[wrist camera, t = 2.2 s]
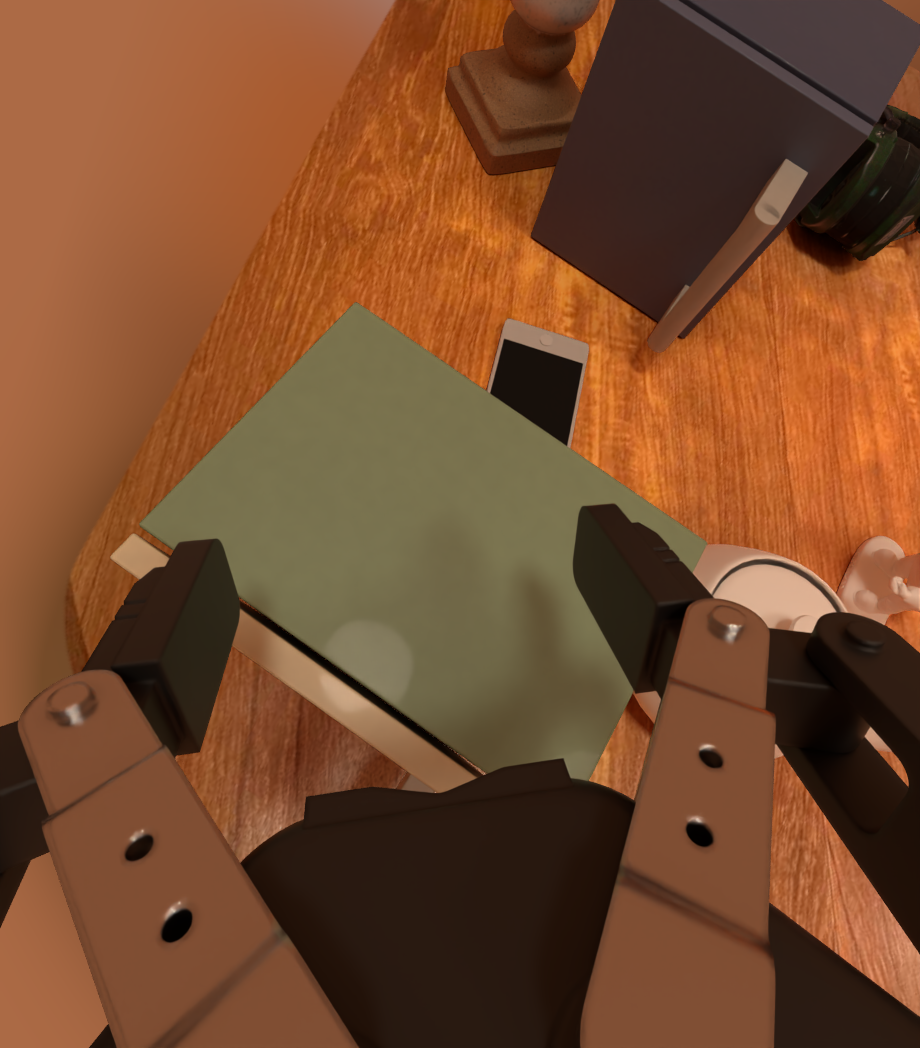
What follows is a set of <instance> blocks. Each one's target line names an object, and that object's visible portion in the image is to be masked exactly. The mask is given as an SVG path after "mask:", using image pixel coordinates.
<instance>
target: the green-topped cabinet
mask: <svg viewBox="0 0 920 1048" xmlns="http://www.w3.org/2000/svg"><path fill="white" fill-rule="evenodd" d="M611 503H614V504H616V505H617V506H618V507H619V508H620V509H621V510H622V512H623V513H624V514H625V515H626V516H627V518H628V519H629V520H630V521H631V522H632V523H634V522H639V523H641V524H643V525H645V526H646V527H648V528H650V529H651V530H653V531H655V532H656V533H658V534H659V535H660V537H661V538H662V539H663V540H664V541H665V542H666V543H667V544H668V546H669V547H670V550H673V551H674V552H675V554H676V555H677V556H678V557H679V558H680V559H679V560H680V561H682V562H683V563H684V564H685V565H686V566H687V567H688V568H689V570H690V571H691V572H692V573H693V571H694V569H695V567H696V565H697V563H698V561H699V559H700V557H701V555H702V553H703V551H704V549H705V547H706V545H707V542H706V541H705V540H703V539H702V538H700V537H699V536H697V535H696V534H694V533H693V532H692V531H690V530H689V529H687V528H686V527H684V526H683V525H681V524H680V523H678V522H677V521H675V520H674V519H673V518H671V517H670V516H668V515H667V514H665V513H664V512H662V511H661V510H659V509H658V508H656V507H655V506H654V505H652V504H651V503H649V502H648V501H646V500H645V499H643V498H642V497H640V496H639V495H637V494H636V493H635V492H633V491H632V490H630V489H629V488H627V487H626V486H624V485H623V484H621V483H620V482H619V481H617V480H616V479H614V478H613V477H611V476H610V475H608V474H607V473H605V472H604V471H602V470H601V469H600V468H598V467H597V466H595V465H594V464H592V463H591V462H589V461H588V460H586V459H585V458H583V457H582V456H581V455H579V454H578V453H576V452H575V451H573V450H572V449H570V448H569V447H567V446H566V445H564V444H563V443H562V442H560V441H559V440H557V439H556V438H554V437H553V436H551V435H550V434H548V433H547V432H545V431H544V430H543V429H541V428H540V427H538V426H537V425H535V424H534V423H532V422H531V421H529V420H528V419H527V418H525V417H524V416H522V415H521V414H519V413H518V412H516V411H515V410H513V409H512V408H510V407H509V406H508V405H506V404H505V403H503V402H502V401H500V400H499V399H497V398H496V397H494V396H493V395H491V394H490V393H489V392H487V391H486V390H484V389H483V388H481V387H480V386H478V385H477V384H475V383H474V382H472V381H471V380H470V379H468V378H467V377H465V376H464V375H462V374H461V373H459V372H458V371H456V370H455V369H454V368H452V367H451V366H449V365H448V364H446V363H445V362H443V361H442V360H440V359H439V358H437V357H436V356H435V355H433V354H432V353H430V352H429V351H427V350H426V349H424V348H423V347H421V346H420V345H418V344H417V343H416V342H414V341H413V340H411V339H410V338H408V337H407V336H405V335H404V334H402V333H401V332H399V331H398V330H397V329H395V328H394V327H392V326H391V325H389V324H388V323H386V322H385V321H383V320H382V319H380V318H379V317H378V316H376V315H375V314H373V313H372V312H370V311H369V310H367V309H366V308H364V307H363V306H362V305H360V304H359V303H357V302H355V303H354V304H353V305H352V306H351V307H350V308H349V309H348V310H347V311H346V312H345V313H344V314H343V315H342V316H341V317H340V318H339V319H338V320H337V321H336V322H335V323H334V324H333V325H332V326H331V327H330V328H329V329H328V330H327V331H326V333H325V334H324V335H323V336H322V337H321V338H320V339H319V340H318V341H317V342H316V343H315V344H314V345H313V346H312V347H311V348H310V349H309V350H308V351H307V352H306V353H305V354H304V355H303V356H302V357H301V358H300V359H299V360H298V361H297V362H296V363H295V364H294V365H293V366H292V367H291V368H290V369H289V370H288V371H287V372H286V373H285V375H284V376H283V377H282V378H281V379H280V380H279V381H278V382H277V383H276V384H275V385H274V386H273V387H272V388H271V389H270V390H269V391H268V392H267V393H266V394H265V395H264V396H263V397H262V398H261V399H260V400H259V401H258V402H257V403H256V404H255V405H254V406H253V407H252V408H251V409H250V410H249V411H248V412H247V413H246V414H245V416H244V417H243V418H242V419H241V420H240V421H239V422H238V423H237V424H236V425H235V426H234V427H233V428H232V429H231V430H230V431H229V432H228V433H227V434H226V435H225V436H224V437H223V438H222V439H221V440H220V441H219V442H218V443H217V444H216V445H215V446H214V447H213V448H212V449H211V450H210V451H209V452H208V453H207V454H206V455H205V457H204V458H203V459H202V460H201V461H200V462H199V463H198V464H197V465H196V466H195V467H194V468H193V469H192V470H191V471H190V472H189V473H188V474H187V475H186V476H185V477H184V478H183V479H182V480H181V481H180V482H179V483H178V484H177V485H176V486H175V487H174V488H173V489H172V490H171V491H170V492H169V493H168V494H167V495H166V496H165V498H164V499H163V500H162V501H161V502H160V503H159V504H158V505H157V506H156V507H155V508H154V509H153V510H152V511H151V512H150V513H149V514H148V515H147V516H146V517H145V518H144V519H143V520H142V521H141V522H140V524H139V525H140V527H141V528H143V529H144V530H146V531H147V532H148V533H150V534H151V535H153V536H154V537H155V538H157V539H158V540H160V541H161V542H163V543H164V544H165V545H167V546H168V547H170V548H171V549H172V550H174V549H175V547H176V545H177V544H178V543H179V542H182V541H193V540H204V539H215V538H216V539H219V540H220V541H221V543H222V545H223V547H224V550H225V554H226V557H227V560H228V563H229V567H230V570H231V573H232V576H233V580H234V583H235V586H236V590H237V593H238V597H240V598H241V599H243V600H244V601H245V602H247V603H248V604H250V605H251V606H252V607H254V608H255V609H257V610H258V611H259V612H261V613H262V614H264V615H265V616H266V617H268V618H269V619H271V620H272V621H273V622H275V623H276V624H278V625H279V626H280V627H282V628H283V629H285V630H286V631H287V632H289V633H290V634H292V635H293V636H295V637H296V638H297V639H299V640H300V641H302V642H303V643H304V644H306V645H307V646H309V647H310V648H311V649H313V650H314V651H316V652H317V653H318V654H320V655H321V656H323V657H324V658H325V659H327V660H328V661H330V662H331V663H332V664H334V665H335V666H337V667H338V668H339V669H341V670H342V671H344V672H345V673H346V674H348V675H349V676H351V677H352V678H353V679H355V680H356V681H358V682H359V683H361V684H362V685H363V686H365V687H366V688H368V689H369V690H370V691H372V692H373V693H375V694H376V695H377V696H379V697H380V698H382V699H383V700H384V701H386V702H387V703H389V704H390V705H391V706H393V707H394V708H396V709H397V710H398V711H400V712H401V713H403V714H404V715H405V716H407V717H408V718H410V719H411V720H412V721H414V722H415V723H417V724H418V725H419V726H421V727H422V728H424V729H425V730H426V731H428V732H429V733H431V734H432V735H434V736H435V737H436V738H438V739H439V740H441V741H442V742H443V743H445V744H446V745H448V746H449V747H450V748H452V749H453V750H455V751H456V752H457V753H459V754H460V755H462V756H463V757H464V758H466V759H467V760H469V761H470V762H471V763H473V764H474V765H476V766H477V767H478V768H480V769H481V770H483V771H484V772H485V773H487V774H488V773H490V772H493V771H495V770H497V769H500V768H502V767H506V766H513V765H520V764H526V763H533V762H540V761H546V760H553V759H559V758H564V761H565V764H566V767H567V769H568V772H569V775H570V778H575V779H581V780H586V781H589V779H590V777H591V775H592V773H593V771H594V769H595V767H596V765H597V763H598V761H599V759H600V757H601V755H602V753H603V751H604V749H605V747H606V745H607V743H608V741H609V739H610V737H611V735H612V733H613V731H614V729H615V727H616V725H617V723H618V721H619V719H620V717H621V715H622V713H623V711H624V709H625V707H626V705H627V703H628V701H629V699H630V697H631V695H632V693H633V691H634V690H633V688H632V686H631V685H630V683H629V681H628V679H627V677H626V675H625V674H624V672H623V670H622V668H621V666H620V664H619V663H618V661H617V659H616V657H615V655H614V654H613V652H612V650H611V648H610V646H609V644H608V643H607V641H606V639H605V637H604V635H603V633H602V632H601V630H600V628H599V626H598V624H597V622H596V621H595V619H594V617H593V615H592V613H591V611H590V610H589V608H588V606H587V604H586V602H585V600H584V599H583V597H582V595H581V593H580V591H579V589H578V588H577V585H576V583H575V579H574V575H573V554H574V546H575V538H576V530H577V522H578V515H579V511H580V509H581V507H582V506H589V505H600V504H611Z"/></svg>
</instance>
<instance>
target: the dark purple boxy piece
mask: <svg viewBox="0 0 920 1048" xmlns="http://www.w3.org/2000/svg"><path fill="white" fill-rule="evenodd" d="M679 1H680V2H682V3H683V4H685V5H687V6H688V7H690V8H691V9H693V10H694V11H696V12H697V13H699V14H700V15H702V16H704V17H705V18H707V19H708V20H710V21H711V22H713V23H714V24H716V25H717V26H719V27H721V28H722V29H724V30H725V31H727V32H728V33H730V34H731V35H733V36H734V37H736V38H737V39H739V40H741V41H742V42H744V43H745V44H747V45H748V46H750V47H751V48H753V49H754V50H756V51H758V52H759V53H761V54H762V55H764V56H765V57H767V58H768V59H770V60H771V61H773V62H775V63H776V64H778V65H779V66H781V67H782V68H784V69H785V70H787V71H788V72H790V73H791V74H793V75H795V76H796V77H798V78H799V79H801V80H802V81H804V82H805V83H807V84H808V85H810V86H812V87H813V88H815V89H816V90H818V91H819V92H821V93H822V94H824V95H825V96H827V97H829V98H830V99H832V100H833V101H835V102H836V103H838V104H839V105H841V106H842V107H844V108H846V109H847V110H849V111H850V112H852V113H853V114H855V115H856V116H858V117H859V118H861V119H862V120H864V121H866V122H867V123H869V124H870V125H872V126H873V127H874V125H875V124H876V123H877V122H878V120H879V118H880V117H881V115H882V113H883V111H884V109H885V108H886V106H887V104H888V102H889V100H890V98H891V97H892V95H893V93H894V91H895V89H896V88H897V86H898V84H899V82H900V80H901V78H902V77H903V75H904V73H905V71H906V69H907V68H908V66H909V64H910V62H911V60H912V58H913V56H914V55H915V53H916V51H917V49H918V48H919V46H920V24H918V23H917V22H915V21H913V20H912V19H910V18H909V17H907V16H905V15H904V14H903V13H901V12H899V11H898V10H896V9H895V8H893V7H892V6H890V5H888V4H887V3H885V2H884V1H882V0H679Z"/></svg>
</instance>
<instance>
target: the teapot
mask: <svg viewBox="0 0 920 1048" xmlns="http://www.w3.org/2000/svg"><path fill="white" fill-rule="evenodd" d="M693 574H694V575H695V576H696V578H697V579H698V580H699V581H700V582H701V583H702V584H703V586H704V587H705V588H706V589H707V590H708V591H709V592H710V594H711V595H712V596H713V597H714V598H718V599H724V600H729V601H732V602H735V603H738V604H740V605H743V606H745V607H747V608H749V609H750V610H752V611H753V612H755V613H756V614H757V615H758V616H760V617H761V618H762V619H763V621H764V622H765V623H766V625H767V626H768V628H774V629H782V630H791V631H799V632H808V633H812V631H813V629H814V627H815V625H816V622H817V620H818V619H819V618H820V617H821V616H823V615H825V614H828V613H833V612H845V613H848V611H847V609H846V608H845V606H844V605H843V603H842V602H841V600H840V598H839V597H838V596H837V595H836V593H835V592H834V591H833V590H832V589H831V588H830V587H829V585H828V584H827V583H826V582H825V581H823V580H822V579H821V578H820V577H819V576H817V575H816V574H815V573H814V572H812V571H811V570H809V569H808V568H806V567H804V566H803V565H801V564H799V563H798V562H795V561H793V560H790V559H788V558H785V557H782V556H779V555H776V554H773V553H769V552H766V551H762V550H758V549H753V548H747V547H741V546H735V545H728V544H710V545H706V547H705V549H704V551H703V553H702V555H701V557H700V559H699V561H698V563H697V565H696V567H695V569H694V571H693ZM633 694H634V696H635V698H636V700H637V702H638V703H639V705H640V707H641V708H642V709H643V710H644V712H645V713H646V714H647V715H648V717H649V718H650V719H651V720H652V722H653V723H655V719H656V716H657V712H658V708H659V705H660V701H661V699H660V697H659V695H658V693H657V692H656V691H653V692H645V693H638V694H635V692H634V691H633ZM865 737H866V739H867V740H868V741H869V742H870V743H871V744H872V746H873V747H874V748H875V749H876V750H879V751H887V752H892V751H891V749H890V748H889V747H888V746H887V745H886V744H885V743H884V742H883V740H882V739H881V738H880V737H879V736H878V735H877V734H876V733H875V731H874V730H873V729H872V728H871V727H870V729H869V730H868V732H867V733H866V735H865ZM780 756H783V753H782V752H781V751H780V749H779V748H778V746H777V745H776V744H775V757H774V759H775V758H778V757H780Z"/></svg>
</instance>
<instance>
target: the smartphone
mask: <svg viewBox="0 0 920 1048" xmlns="http://www.w3.org/2000/svg"><path fill="white" fill-rule="evenodd" d="M588 352H589V346H588V344H587V343H584V342H581V341H578V340H575V339H572V338H569V337H566V336H563V335H559V334H556V333H553V332H550V331H547V330H544V329H541V328H538V327H535V326H532V325H528V324H525V323H522V322H519V321H516V320H513V319H507V320H506V321H505V324H504V326H503V329H502V332H501V336H500V340H499V344H498V348H497V352H496V355H495V359H494V363H493V367H492V371H491V375H490V379H489V382H488V386H487V390H486V391H487V392H489V393H490V394H491V395H493V396H494V397H496V398H497V399H499V400H500V401H502V402H503V403H505V404H506V405H508V406H509V407H510V408H512V409H513V410H515V411H516V412H518V413H519V414H521V415H522V416H524V417H525V418H527V419H528V420H529V421H531V422H532V423H534V424H535V425H537V426H538V427H540V428H541V429H543V430H544V431H545V432H547V433H548V434H550V435H551V436H553V437H554V438H556V439H557V440H559V441H560V442H562V443H563V444H564V445H566V446H567V447H569V448H570V447H571V441H572V436H573V431H574V426H575V420H576V415H577V410H578V405H579V399H580V394H581V389H582V384H583V378H584V373H585V368H586V363H587V357H588Z"/></svg>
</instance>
